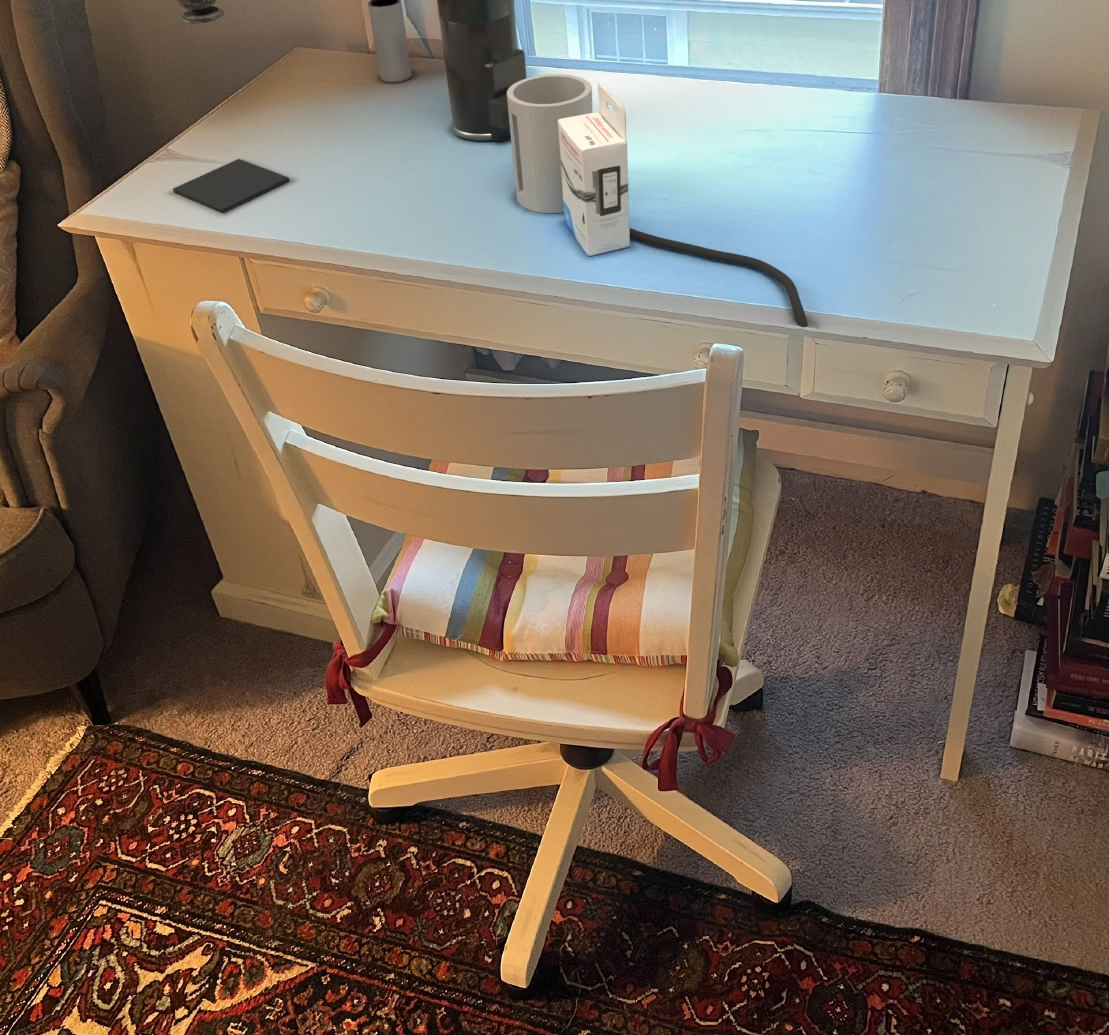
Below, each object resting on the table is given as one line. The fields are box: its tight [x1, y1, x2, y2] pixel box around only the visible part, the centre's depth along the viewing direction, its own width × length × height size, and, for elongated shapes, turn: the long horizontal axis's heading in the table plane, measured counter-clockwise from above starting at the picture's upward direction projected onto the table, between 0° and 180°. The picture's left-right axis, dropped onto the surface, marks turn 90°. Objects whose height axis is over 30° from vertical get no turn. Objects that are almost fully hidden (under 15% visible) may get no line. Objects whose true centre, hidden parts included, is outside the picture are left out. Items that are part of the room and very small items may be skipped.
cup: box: [507, 73, 594, 214], centre depth 121 cm, size 9×9×12 cm
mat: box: [172, 158, 290, 214], centre depth 132 cm, size 10×10×1 cm
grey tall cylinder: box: [367, 0, 413, 83], centre depth 153 cm, size 4×4×10 cm
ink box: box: [558, 82, 631, 257], centre depth 112 cm, size 8×5×15 cm, turn 18°
